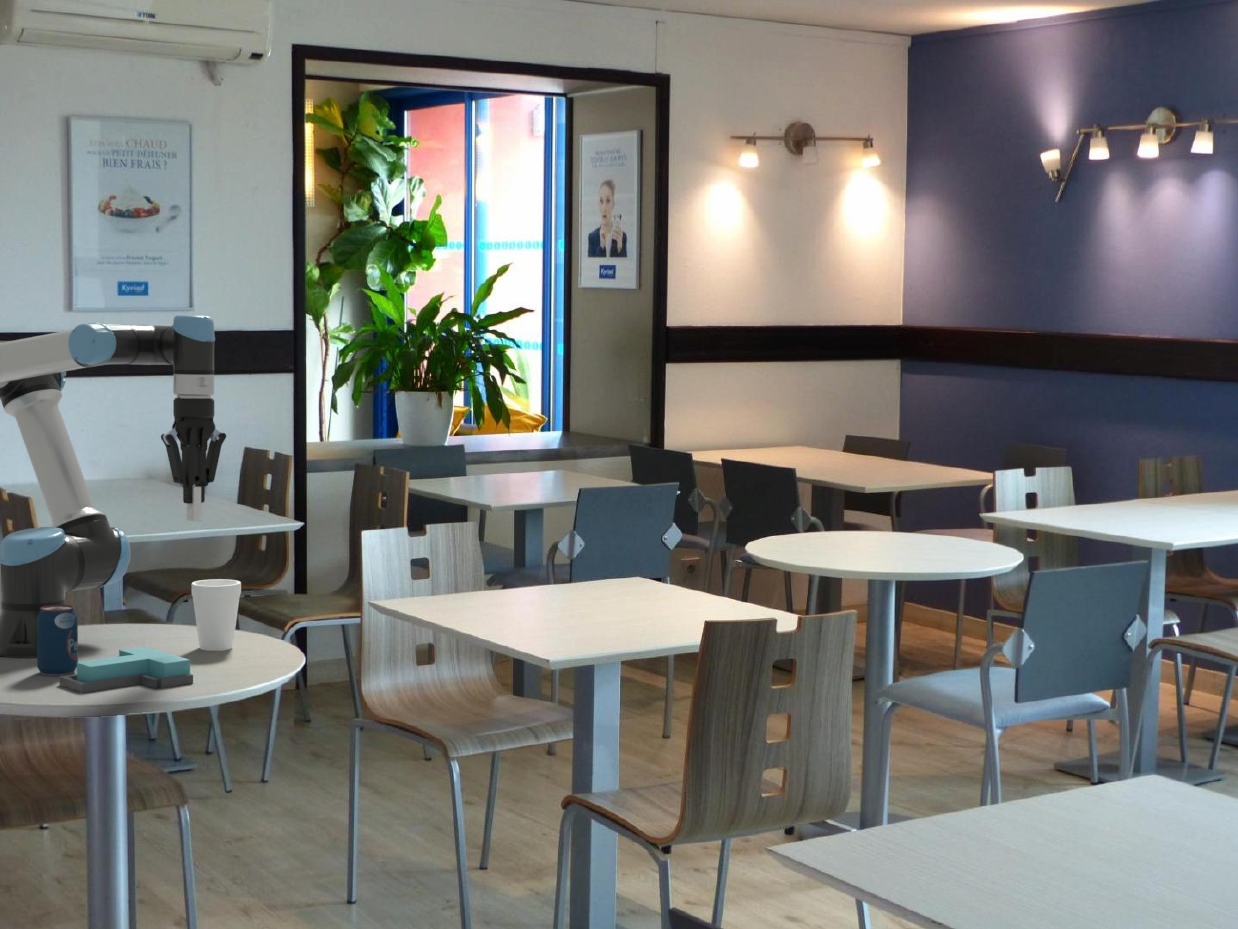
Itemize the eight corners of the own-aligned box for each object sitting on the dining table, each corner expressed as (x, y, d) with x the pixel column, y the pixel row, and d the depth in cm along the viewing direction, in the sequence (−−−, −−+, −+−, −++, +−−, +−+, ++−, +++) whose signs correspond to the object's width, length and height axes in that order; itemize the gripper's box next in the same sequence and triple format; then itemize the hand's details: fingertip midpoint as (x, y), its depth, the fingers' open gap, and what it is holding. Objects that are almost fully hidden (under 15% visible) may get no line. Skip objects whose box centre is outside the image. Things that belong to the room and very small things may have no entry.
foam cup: (247, 644, 310) (247, 580, 309) (231, 653, 301) (231, 587, 300) (201, 642, 311) (201, 578, 310) (184, 651, 302) (184, 585, 301)
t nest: (138, 666, 287) (138, 658, 286) (193, 683, 273) (193, 674, 273) (44, 680, 273) (44, 671, 273) (97, 698, 260) (97, 689, 260)
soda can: (79, 675, 278) (79, 609, 277) (38, 677, 275) (37, 611, 274) (76, 667, 284) (76, 603, 283) (36, 670, 282) (35, 605, 281)
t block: (144, 668, 286) (144, 646, 285) (190, 682, 275) (190, 659, 274) (62, 680, 274) (61, 657, 274) (106, 695, 263) (106, 672, 263)
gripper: (173, 397, 286) (173, 524, 287) (234, 397, 295) (234, 519, 297) (152, 396, 291) (152, 520, 292) (213, 396, 300) (213, 516, 302)
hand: (193, 520), depth 295 cm, fingers closed
